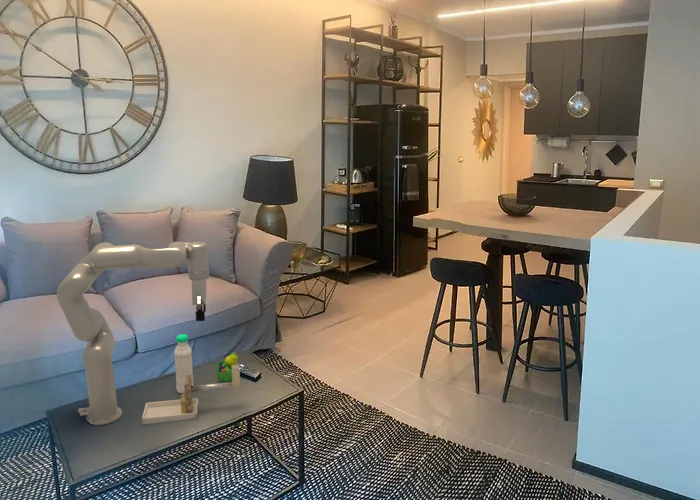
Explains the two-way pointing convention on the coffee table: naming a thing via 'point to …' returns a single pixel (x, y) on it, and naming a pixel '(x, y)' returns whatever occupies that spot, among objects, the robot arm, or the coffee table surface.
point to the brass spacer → (183, 404)
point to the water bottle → (182, 362)
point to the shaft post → (188, 394)
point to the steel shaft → (217, 386)
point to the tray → (167, 412)
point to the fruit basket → (227, 368)
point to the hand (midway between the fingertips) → (201, 316)
